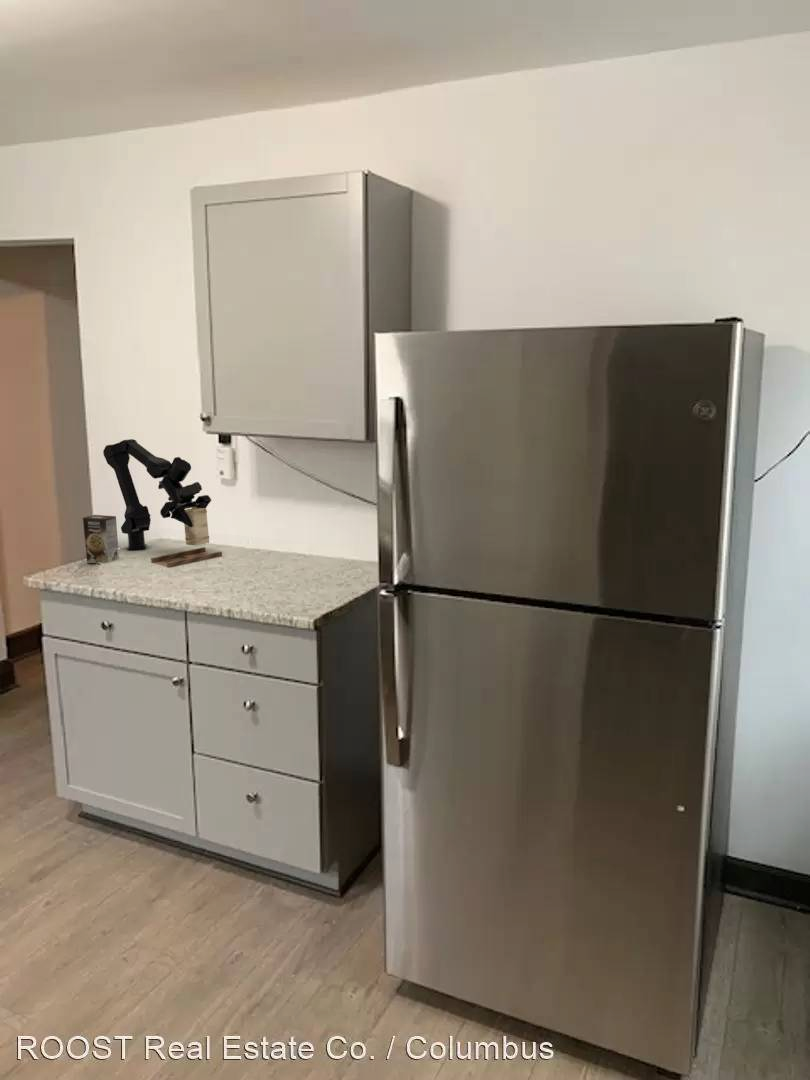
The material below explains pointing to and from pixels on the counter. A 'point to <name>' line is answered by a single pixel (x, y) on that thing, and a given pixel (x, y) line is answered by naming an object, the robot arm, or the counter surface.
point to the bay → (184, 557)
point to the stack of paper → (197, 527)
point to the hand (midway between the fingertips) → (198, 525)
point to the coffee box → (101, 538)
